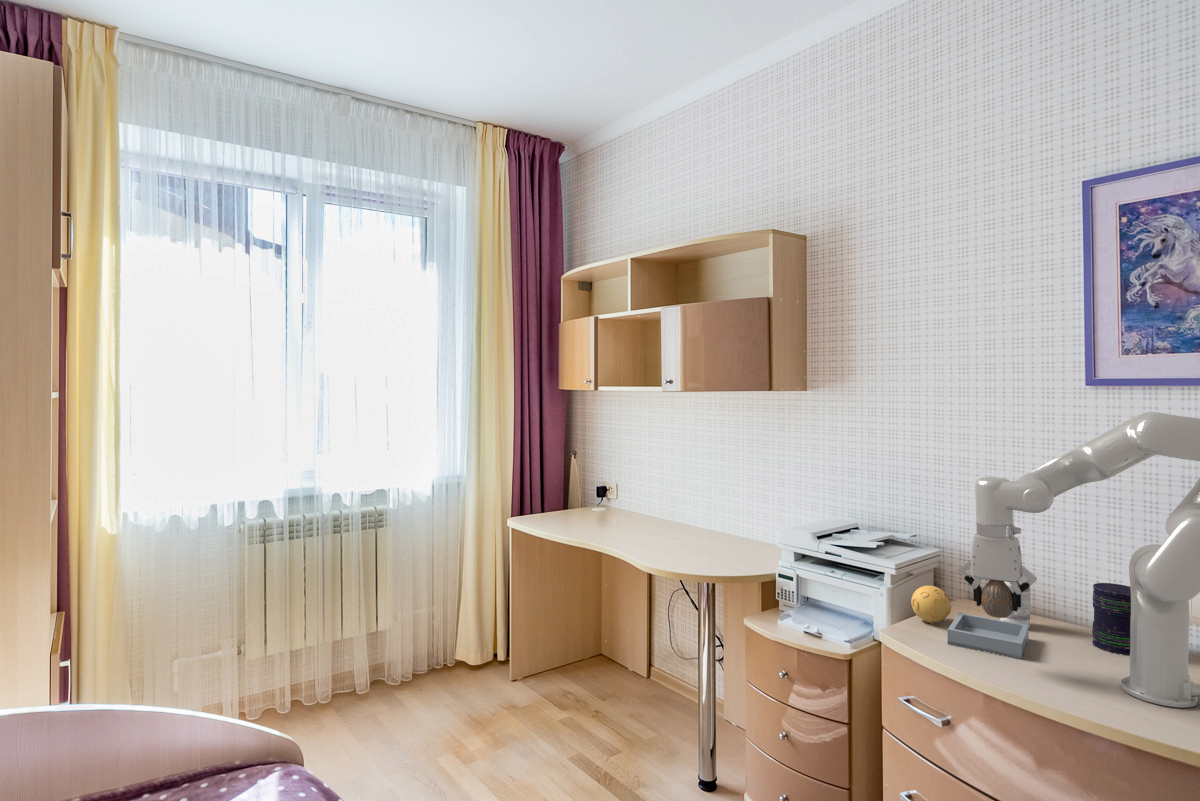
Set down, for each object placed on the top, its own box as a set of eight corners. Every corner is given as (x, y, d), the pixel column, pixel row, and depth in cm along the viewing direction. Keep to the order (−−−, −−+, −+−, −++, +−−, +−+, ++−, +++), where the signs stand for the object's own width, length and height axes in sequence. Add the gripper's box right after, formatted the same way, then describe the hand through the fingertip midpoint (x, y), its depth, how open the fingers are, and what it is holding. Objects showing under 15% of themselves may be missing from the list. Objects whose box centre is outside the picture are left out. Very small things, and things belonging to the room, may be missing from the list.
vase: (1020, 620, 152) (1019, 582, 152) (987, 619, 154) (985, 581, 154) (1008, 611, 159) (1007, 574, 159) (976, 610, 161) (975, 573, 161)
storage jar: (1091, 637, 175) (1091, 580, 174) (1139, 645, 169) (1140, 586, 169) (1092, 650, 166) (1093, 590, 166) (1143, 658, 161) (1144, 597, 161)
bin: (1028, 639, 173) (1028, 625, 173) (1021, 659, 161) (1021, 643, 160) (959, 626, 183) (959, 612, 183) (947, 644, 170) (947, 629, 170)
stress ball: (914, 618, 192) (897, 600, 188) (935, 591, 193) (918, 572, 189) (943, 635, 183) (925, 617, 179) (964, 607, 184) (947, 588, 180)
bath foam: (999, 619, 188) (1000, 548, 188) (1028, 623, 185) (1029, 551, 185) (1001, 627, 182) (1001, 554, 182) (1031, 631, 179) (1031, 557, 179)
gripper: (1040, 531, 154) (1043, 609, 154) (956, 524, 165) (958, 597, 165) (1037, 537, 148) (1040, 618, 148) (950, 530, 159) (952, 605, 159)
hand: (997, 606), depth 157 cm, fingers closed on vase, 6 cm apart
